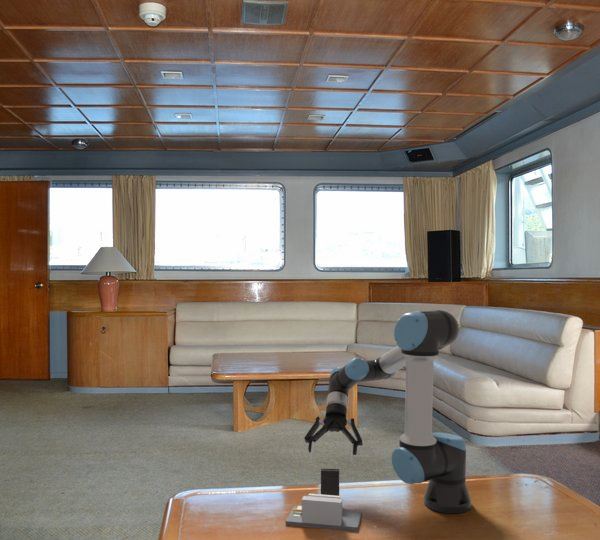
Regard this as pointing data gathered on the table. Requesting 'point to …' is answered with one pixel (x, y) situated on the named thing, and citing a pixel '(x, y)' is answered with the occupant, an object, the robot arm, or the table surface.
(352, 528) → the base
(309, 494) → the light gray flat plate
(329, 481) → the door stopper
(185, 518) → the table surface
